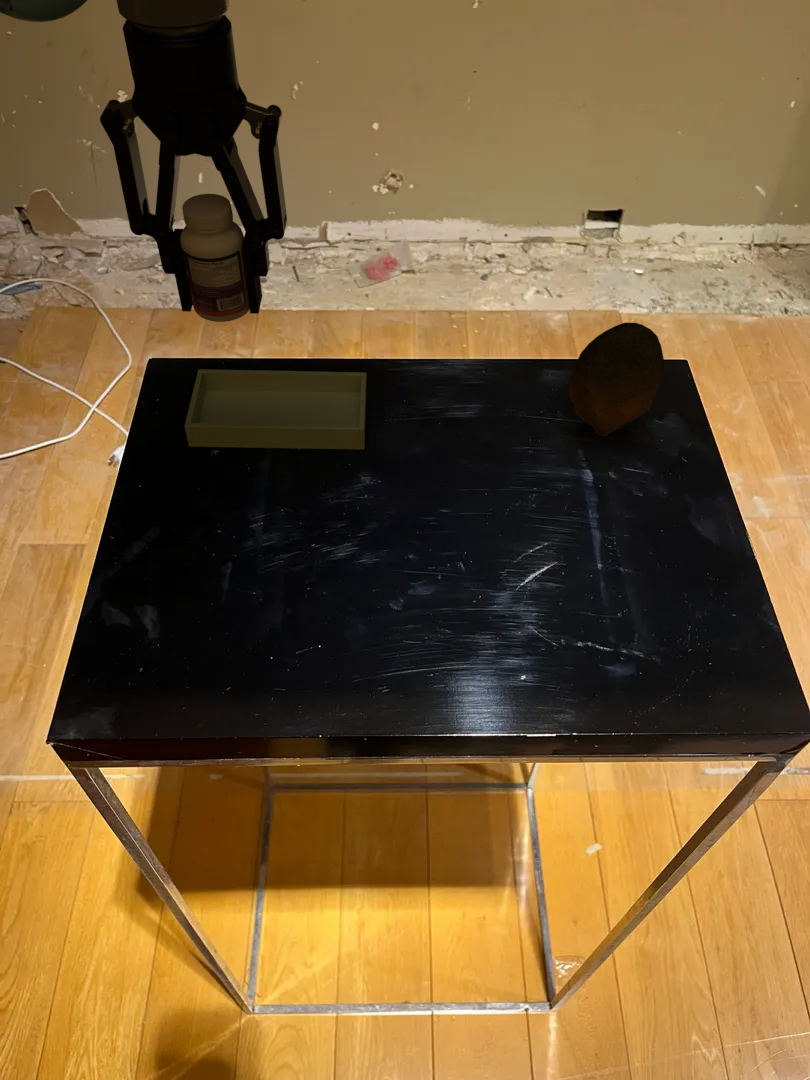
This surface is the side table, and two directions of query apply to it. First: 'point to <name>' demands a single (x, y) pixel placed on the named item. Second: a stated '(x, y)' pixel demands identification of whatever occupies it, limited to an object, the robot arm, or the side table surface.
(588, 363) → the decorative stone
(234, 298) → the pill bottle
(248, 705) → the side table surface
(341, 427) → the tray
